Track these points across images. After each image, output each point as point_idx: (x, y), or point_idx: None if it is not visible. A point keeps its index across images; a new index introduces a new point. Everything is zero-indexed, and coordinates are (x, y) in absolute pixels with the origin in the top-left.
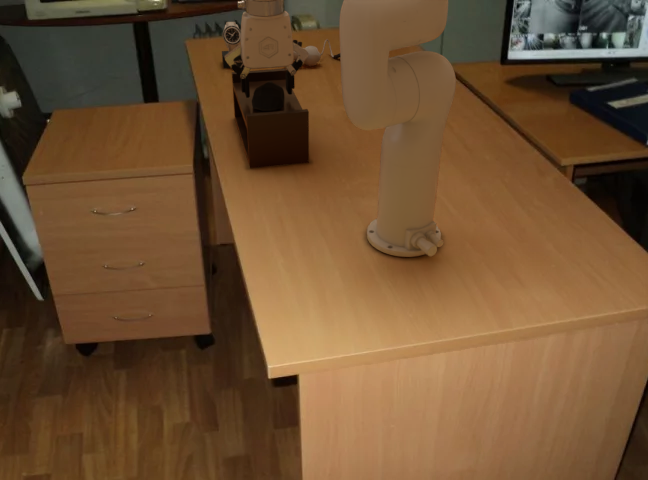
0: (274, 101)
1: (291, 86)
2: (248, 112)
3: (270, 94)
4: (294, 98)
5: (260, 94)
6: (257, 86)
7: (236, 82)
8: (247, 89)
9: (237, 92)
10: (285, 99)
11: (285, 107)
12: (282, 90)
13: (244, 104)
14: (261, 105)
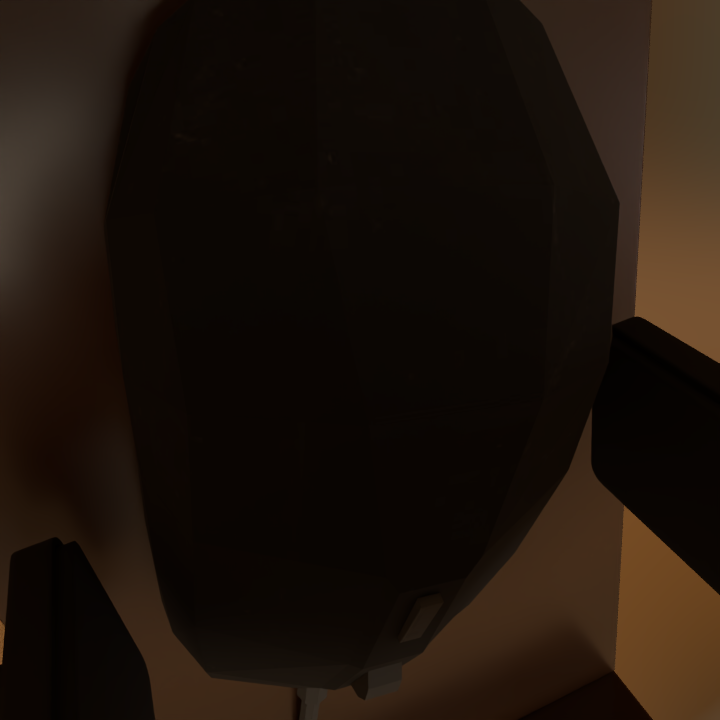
0: (267, 93)
1: (11, 652)
2: (590, 15)
3: (380, 229)
4: (3, 560)
5: (553, 214)
6: (444, 684)
7: (592, 684)
8: (701, 371)
9: (614, 531)
10: (127, 503)
11: (70, 245)
12: (176, 548)
13: None
14: (482, 1)
